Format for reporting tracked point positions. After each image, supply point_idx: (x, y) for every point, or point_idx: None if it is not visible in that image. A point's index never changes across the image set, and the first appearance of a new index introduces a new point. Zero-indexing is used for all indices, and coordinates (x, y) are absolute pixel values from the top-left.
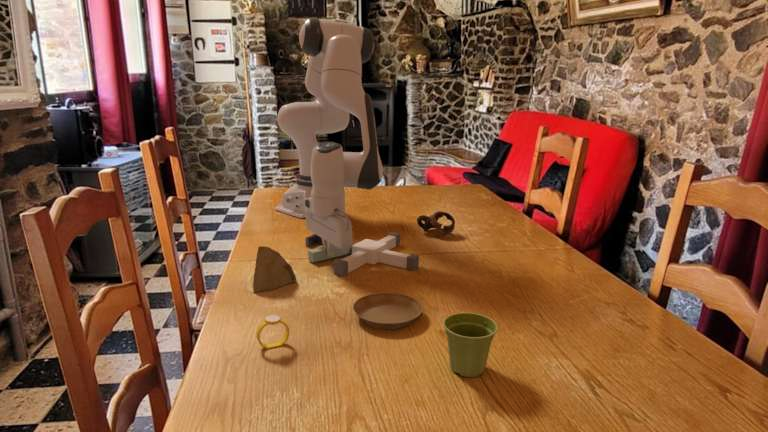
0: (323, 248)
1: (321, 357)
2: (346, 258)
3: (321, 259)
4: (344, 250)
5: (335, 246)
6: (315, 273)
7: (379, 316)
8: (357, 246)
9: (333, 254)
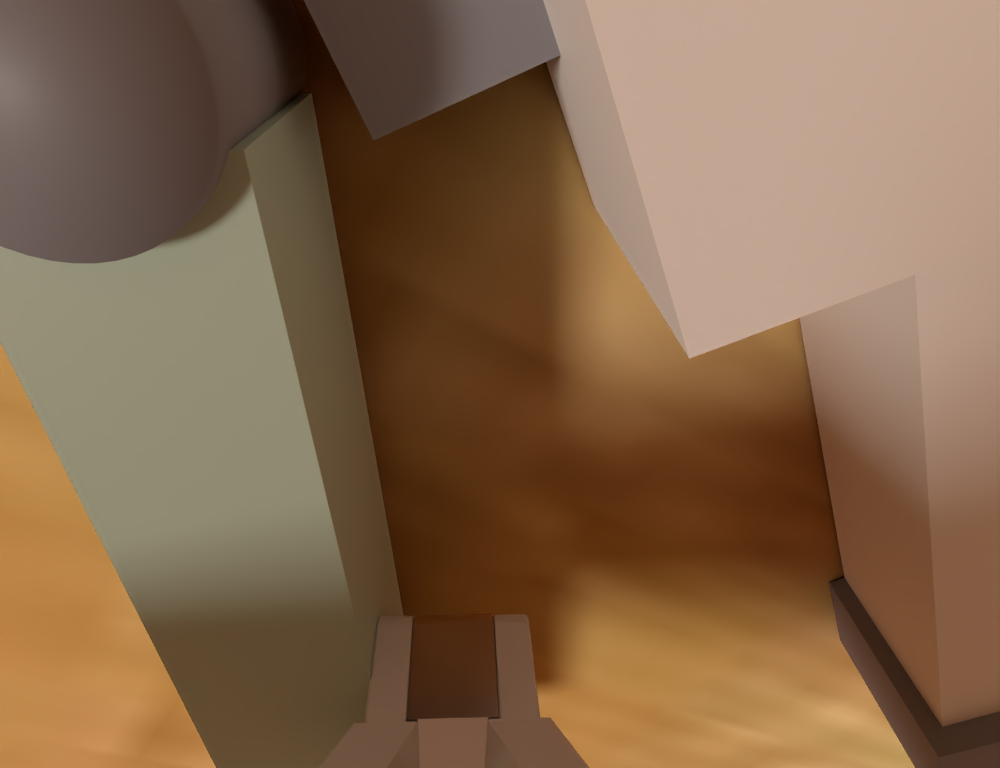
0: (295, 745)
1: None
2: (983, 632)
3: None
4: (326, 294)
5: (288, 569)
6: (677, 743)
7: None
8: (904, 257)
9: (527, 619)
